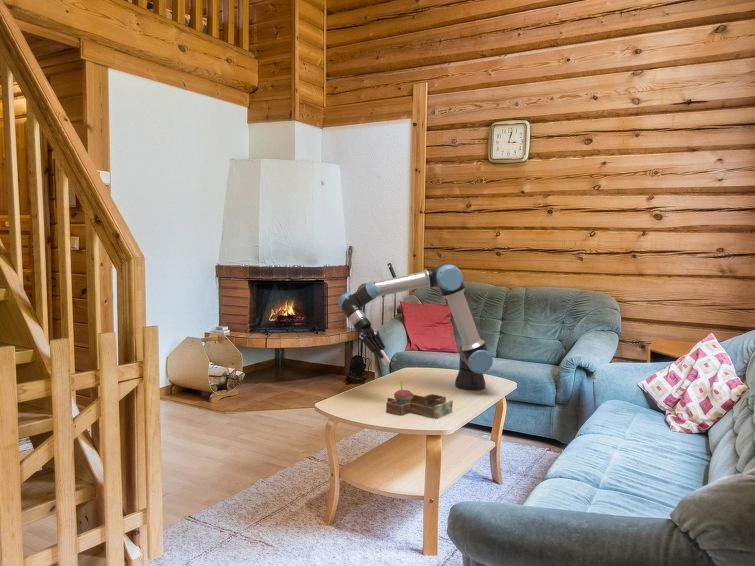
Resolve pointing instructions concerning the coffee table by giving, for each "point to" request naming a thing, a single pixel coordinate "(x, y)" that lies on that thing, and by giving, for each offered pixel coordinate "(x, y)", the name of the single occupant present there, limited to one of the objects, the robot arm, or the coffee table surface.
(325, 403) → the coffee table surface
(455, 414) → the coffee table surface
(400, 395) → the cupcake
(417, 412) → the trap lane
